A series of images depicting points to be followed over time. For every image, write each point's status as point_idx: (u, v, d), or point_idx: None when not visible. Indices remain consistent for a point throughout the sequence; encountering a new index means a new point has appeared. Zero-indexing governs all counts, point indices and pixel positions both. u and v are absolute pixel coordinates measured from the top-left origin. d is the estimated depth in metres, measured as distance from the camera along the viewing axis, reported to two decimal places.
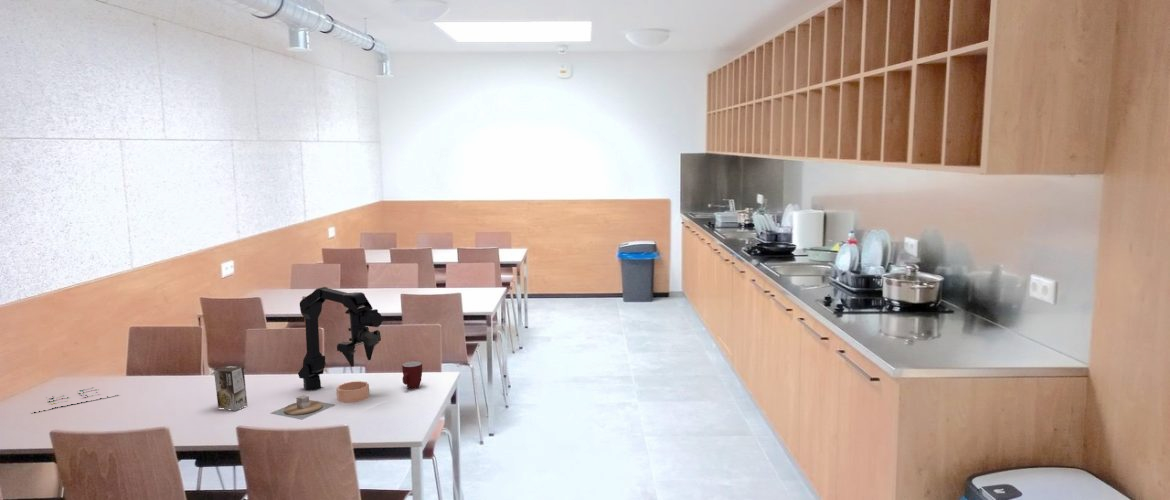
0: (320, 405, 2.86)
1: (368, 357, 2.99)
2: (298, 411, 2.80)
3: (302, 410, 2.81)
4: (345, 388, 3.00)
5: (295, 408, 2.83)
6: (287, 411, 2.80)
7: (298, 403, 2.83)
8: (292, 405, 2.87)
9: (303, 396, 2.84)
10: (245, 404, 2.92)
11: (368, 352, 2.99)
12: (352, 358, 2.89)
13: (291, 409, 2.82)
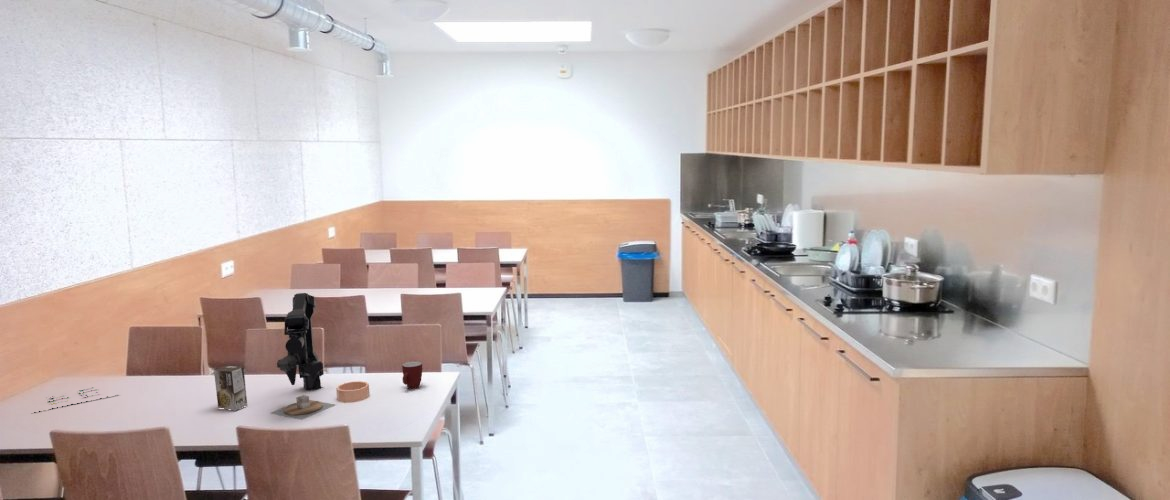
0: (320, 405, 2.86)
1: None
2: (298, 411, 2.80)
3: (302, 410, 2.81)
4: (345, 388, 3.00)
5: (295, 408, 2.83)
6: (287, 411, 2.80)
7: (298, 403, 2.83)
8: (292, 405, 2.87)
9: (303, 396, 2.84)
10: (245, 404, 2.92)
11: None
12: (288, 376, 2.84)
13: (291, 409, 2.82)
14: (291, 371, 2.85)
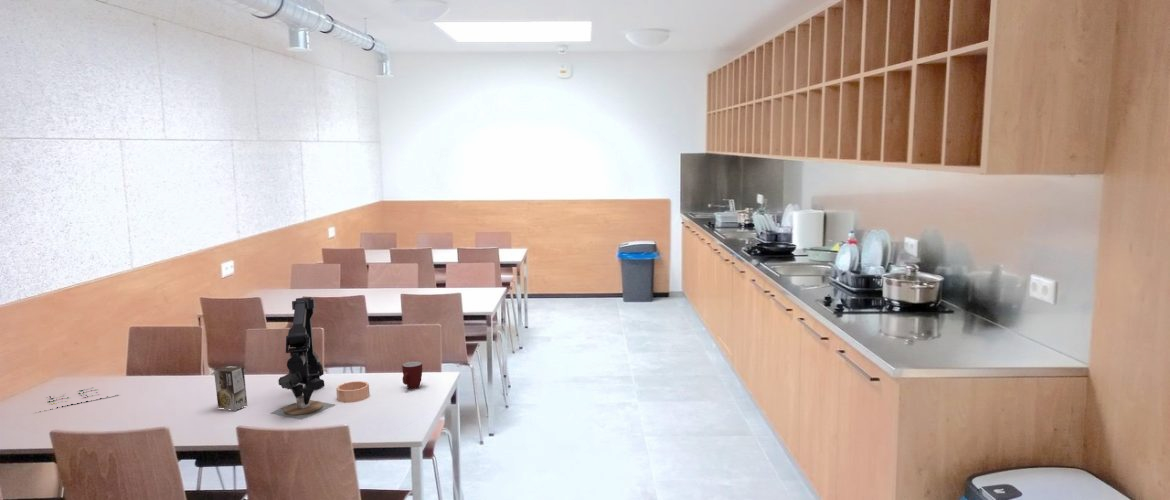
0: (320, 405, 2.86)
1: None
2: (298, 411, 2.80)
3: (302, 410, 2.81)
4: (345, 388, 3.00)
5: (295, 408, 2.83)
6: (287, 411, 2.80)
7: (298, 403, 2.83)
8: (292, 405, 2.87)
9: (303, 396, 2.84)
10: (245, 404, 2.92)
11: None
12: (295, 394, 2.84)
13: (291, 409, 2.82)
14: (298, 389, 2.85)
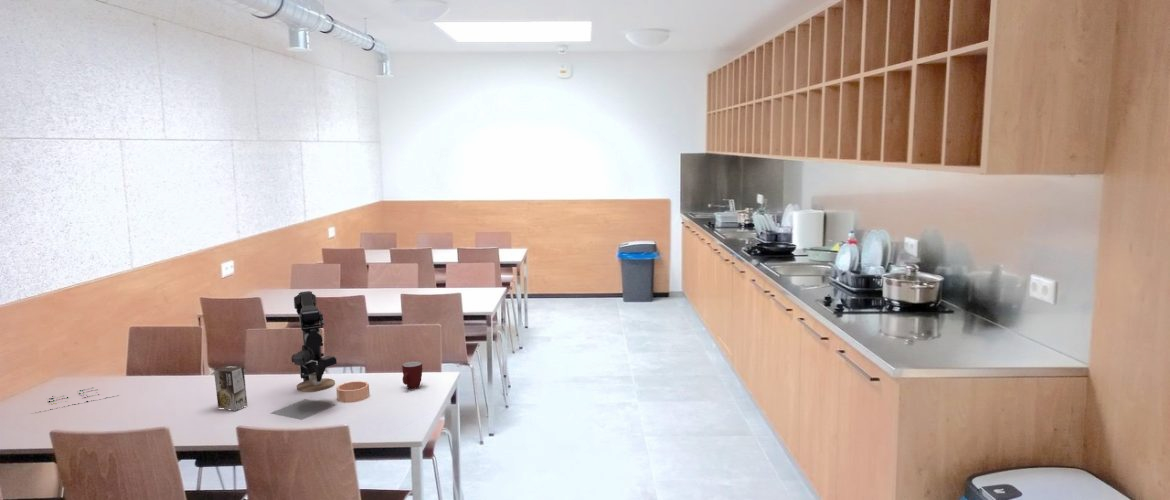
0: (332, 382, 2.88)
1: None
2: (310, 388, 2.82)
3: (314, 387, 2.83)
4: (345, 388, 3.00)
5: (308, 385, 2.85)
6: (300, 388, 2.82)
7: (310, 380, 2.86)
8: (305, 382, 2.89)
9: (315, 373, 2.87)
10: (245, 404, 2.92)
11: None
12: (307, 372, 2.86)
13: (304, 386, 2.84)
14: (310, 366, 2.87)
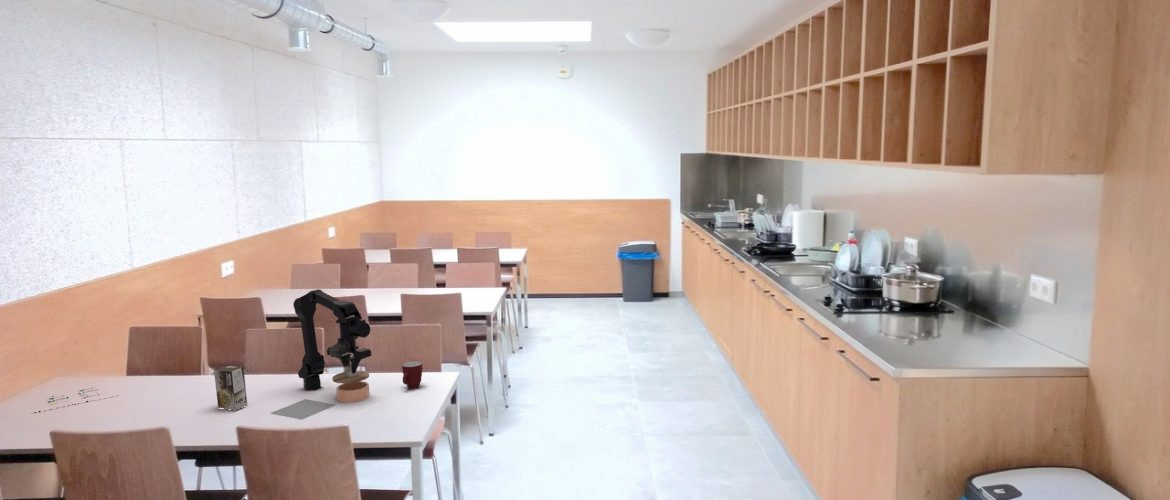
0: (367, 374, 2.96)
1: None
2: (346, 379, 2.90)
3: (350, 378, 2.91)
4: (345, 388, 3.00)
5: (343, 377, 2.94)
6: (336, 379, 2.91)
7: (346, 372, 2.94)
8: (340, 374, 2.97)
9: (350, 365, 2.95)
10: (245, 404, 2.92)
11: None
12: (343, 364, 2.95)
13: (339, 378, 2.93)
14: (345, 359, 2.95)
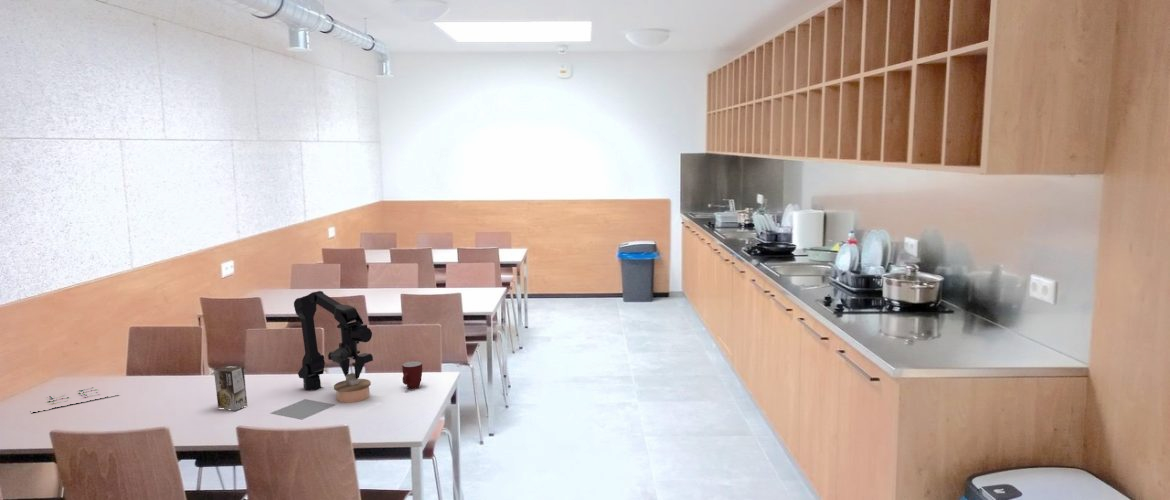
0: (368, 382, 2.97)
1: None
2: (348, 388, 2.91)
3: (352, 387, 2.92)
4: None
5: (344, 385, 2.95)
6: (337, 388, 2.92)
7: (347, 380, 2.95)
8: (341, 382, 2.98)
9: (352, 374, 2.96)
10: (245, 404, 2.92)
11: None
12: (342, 368, 2.96)
13: (341, 386, 2.94)
14: (345, 363, 2.96)
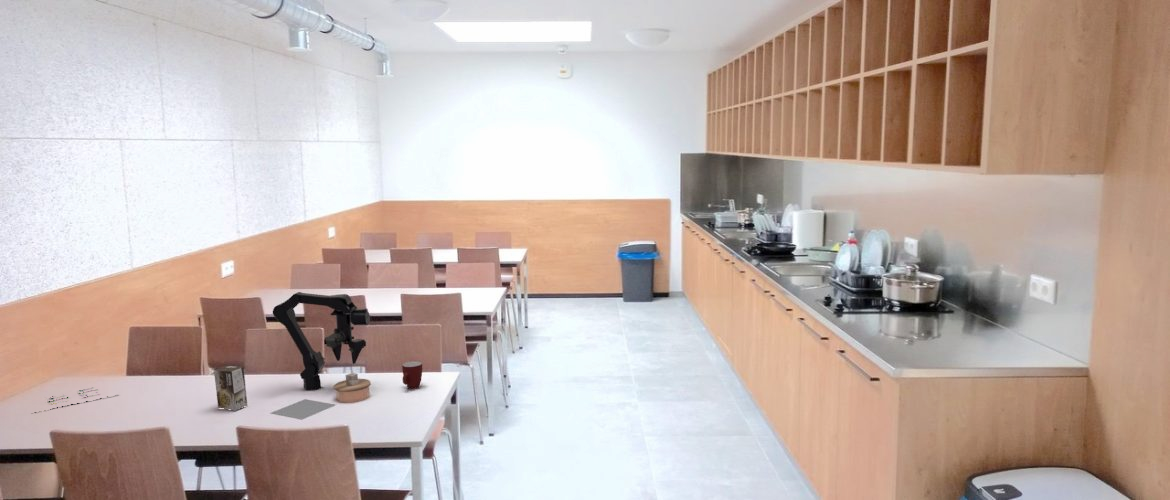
0: (368, 382, 2.97)
1: None
2: (348, 388, 2.91)
3: (352, 387, 2.92)
4: None
5: (344, 385, 2.95)
6: (337, 388, 2.92)
7: (347, 380, 2.95)
8: (341, 382, 2.98)
9: (352, 374, 2.96)
10: (245, 404, 2.92)
11: None
12: (334, 352, 3.09)
13: (341, 386, 2.94)
14: (337, 348, 3.10)
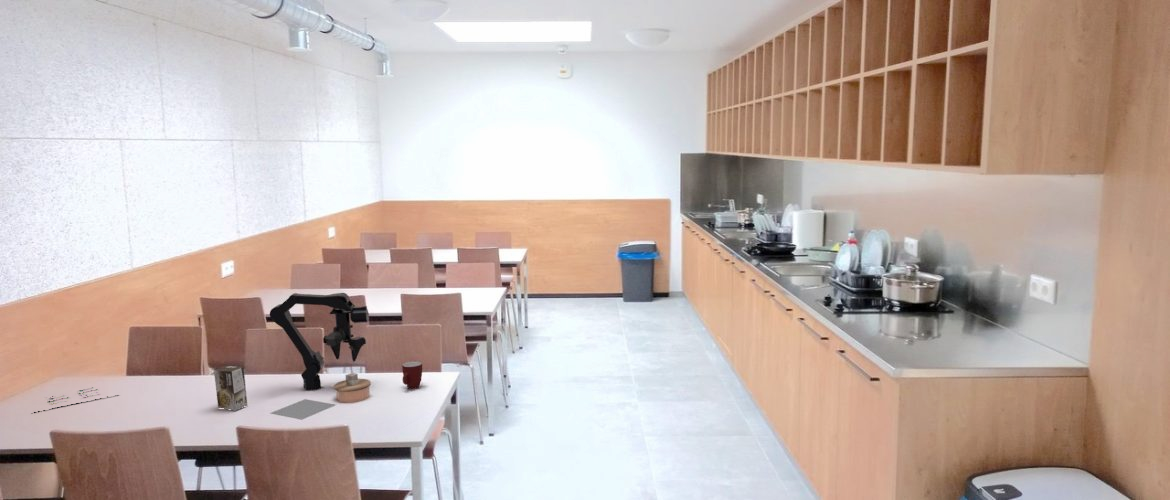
0: (368, 382, 2.97)
1: None
2: (348, 388, 2.91)
3: (352, 387, 2.92)
4: None
5: (344, 385, 2.95)
6: (337, 388, 2.92)
7: (347, 380, 2.95)
8: (341, 382, 2.98)
9: (352, 374, 2.96)
10: (245, 404, 2.92)
11: None
12: (333, 351, 3.11)
13: (341, 386, 2.94)
14: (336, 346, 3.12)
